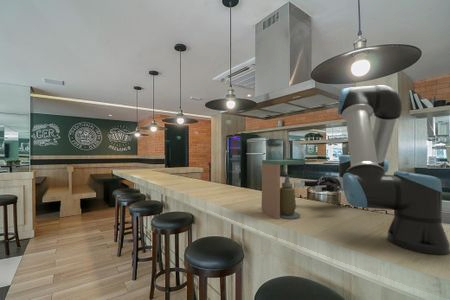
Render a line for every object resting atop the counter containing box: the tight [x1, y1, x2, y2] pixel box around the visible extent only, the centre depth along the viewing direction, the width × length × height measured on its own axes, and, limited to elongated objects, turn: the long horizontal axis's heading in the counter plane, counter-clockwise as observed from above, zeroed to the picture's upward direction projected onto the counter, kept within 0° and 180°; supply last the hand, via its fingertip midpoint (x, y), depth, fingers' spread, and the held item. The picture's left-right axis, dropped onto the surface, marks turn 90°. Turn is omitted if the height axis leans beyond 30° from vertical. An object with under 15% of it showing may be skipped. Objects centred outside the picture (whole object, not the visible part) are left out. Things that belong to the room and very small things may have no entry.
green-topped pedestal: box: [261, 157, 306, 220], centre depth 105 cm, size 12×16×26 cm
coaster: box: [280, 211, 301, 220], centre depth 102 cm, size 12×12×1 cm
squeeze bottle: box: [280, 175, 297, 215], centre depth 102 cm, size 8×8×18 cm
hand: (304, 187), depth 106 cm, fingers open, 13 cm apart
